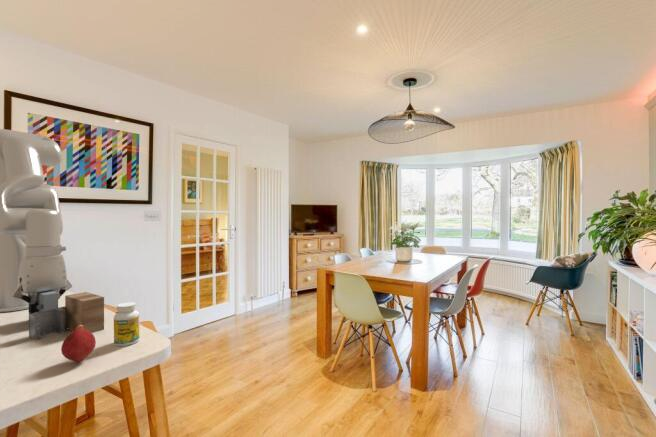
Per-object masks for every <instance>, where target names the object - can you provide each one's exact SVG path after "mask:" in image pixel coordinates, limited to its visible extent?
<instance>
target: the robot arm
mask: <svg viewBox="0 0 656 437" xmlns="http://www.w3.org/2000/svg"><path fill="white" fill-rule="evenodd" d="M62 160H63V153H62V149H61V147H60V145H59V144H58V143H57V142H56V141H55V140H53V139H52V138H50V137H49V136H47V135H42V134H37V133H30V132H26V131H25V132H24V131H19V130H12V129H7V128H6V129H5V128H0V313H5V312H15V311H22V310H28V315H29V314H30V313H35V312H38V309H37V305H38V304H37V303H36V298H37V293H38V292H44V291H50V290H51V291H54V292H57V293H58V300H60V298H61V297H62V296H63V295H64V294H65V293H66V292H67V291H69V290H70V289H71V288H73V285H72V283H71V282H70V281H69V280H68V277H67V275H68V274H67V268H66V262H65V259H64V255H62V252H65V251H67V247H66V246H62V244H61V235H62V234H63V230H64V224H63V218H62V212H61V206H60V205H61V204H60V200H59V196H58V195H59V194H58V192H57V190H56V188H55V187H54V186H52V185H50V184H44V183H45V181H46V180H45V179H46V178H45V176H44V170H43V166H47V167H48V166H49V167H57V166H59V165H60V164H62V163H61V162H62Z"/></svg>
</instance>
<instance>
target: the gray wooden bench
mask: <svg viewBox="0 0 656 437" xmlns="http://www.w3.org/2000/svg"><path fill="white" fill-rule="evenodd" d="M66 330H68V329H67V307H65V306H60V307H59V306H58V308H54V309H49V310H44V311H40V312H35V313H30V314H29V313H28V337H29V338H31V339H32V340H35V341H37V340H40V339H41V336H42V335H45V334H49V333H53V332H57V333H59V334H63V333H66Z"/></svg>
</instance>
